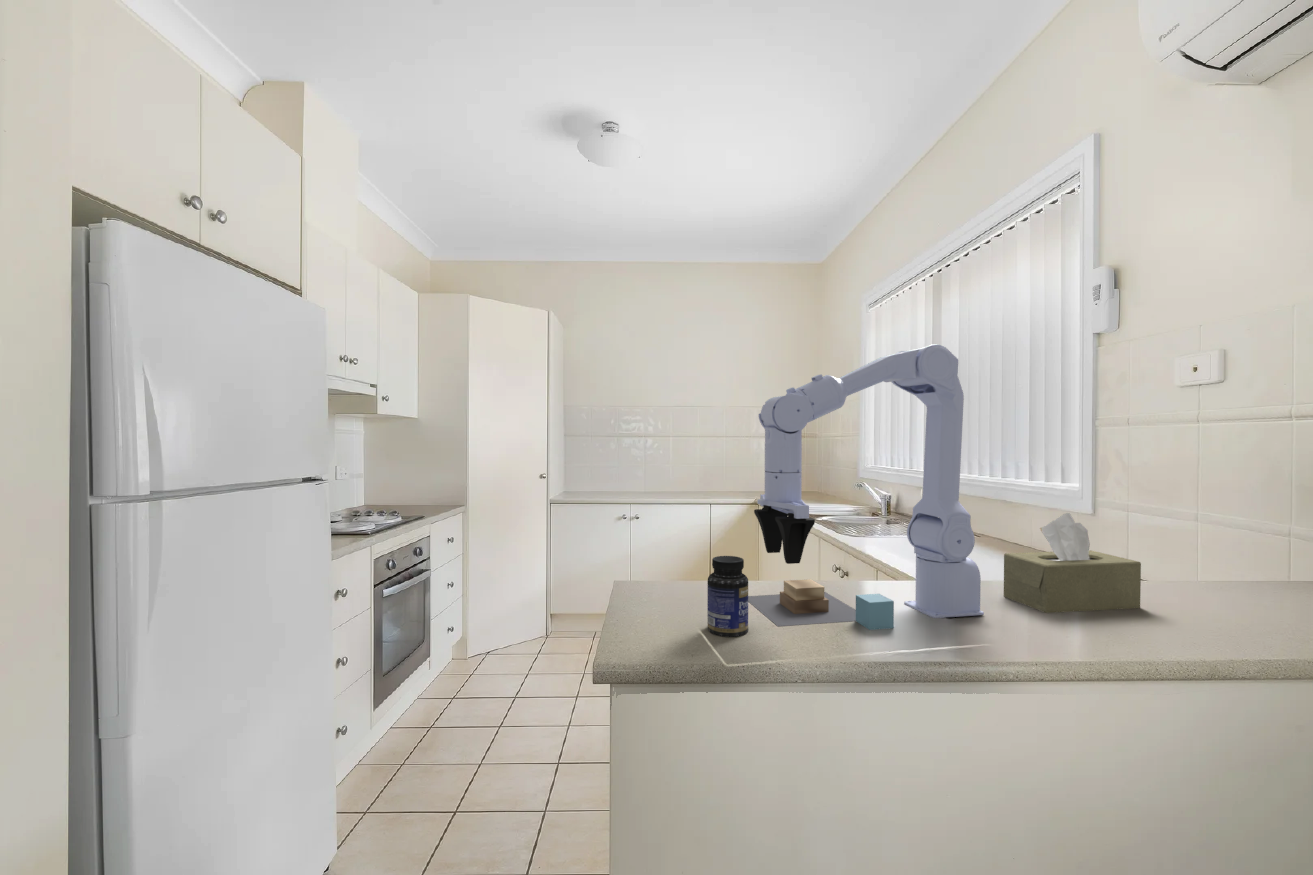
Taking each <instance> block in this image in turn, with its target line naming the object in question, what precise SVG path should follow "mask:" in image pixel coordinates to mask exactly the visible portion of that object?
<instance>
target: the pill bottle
mask: <svg viewBox="0 0 1313 875" xmlns="http://www.w3.org/2000/svg"><path fill="white" fill-rule="evenodd" d="M711 560H712V562H711V564H712V569H713V572H711V573H710V574H709V575H708V577H707V615H706V616H707V626H706V628H707V630H708V632H709V633H710V634H712V635H715V636H717V637H725V638H737V637H742V636H744V635H747V633H748V632H749V602H748V596H749V578H748V577H747V575H746V574H745V573H743V569H744V566H745V562H744V561H745V560H744V558H742V557H740V556H735V555H720V556H719V555H718V556H715V557H713V558H712V559H711Z"/></svg>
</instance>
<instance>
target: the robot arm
mask: <svg viewBox="0 0 1313 875" xmlns="http://www.w3.org/2000/svg"><path fill="white" fill-rule="evenodd" d="M883 382H884V383H892V385H894V386H895V387H897V388H899V389H901V390H903V391H905V392H907V393H909V394H911V395H914V396H915V397H916V398H918V400H920V401H921V403H922V404H924V405H925V406H926V413H925V414H926V415H925V416H926V419H925V436H924V438H925V439H924V440H925V441H924V456H923V457H924V459H923V477H922V479H923V480H922V497H921V499H920V500H919V501H918V502H917V503H916V504H915V505H914V506H913V508H912V516H911V518H910V521H909V523H908V524H907V527H906V528H907V529H906V536H907V540H908V542H909V544H910V545H911V546H912V547H914V548H913V549H914V550H913V553H914V554H915V600H908V601H907V600H905V601H904V602H903V603H904V605H905V606H907V607H909V608H911V609H914V610H915V611H918V612H920V613H922V614H924V615H926V616H928V617H930V618H934V619H940V618H941V619H942V618H955V617H956V618H958V617H972V616H983V615H984V614H985V613H984V611H983V610H981V572H980V568H979V566H978V564H977V563H976V561H974V559H972V558H971V557H968V556H970V554H972V552H973V550H974V547H975V541H976V540H975V538H976V537H975V533H974V531H973V528H972V524H971V520H972V519H971V514H970V513H969V511H968V510H967V509H966V508H965V507H964V506H963V504H961V502H960V500H959V499H960V482H961V462H962V460H961V458H962V441H963V440H962V439H963V421H964V420H963V419H964V417H963V416H964V400H965V398H964V397H965V396H964V391H963V387H962V385H961V384H962V383H961V381H960V379H959V358H957V356H956V355H955V354H953V353H952V351H950V350H949V349H948V348H947V347H946V346H945V345H941V344H936V343H935V344H930V345H927V346H924V347H921V348H920V347H919V348H916V349H909V350H901V351H897V352H896V353H893V354H890V355H889V354H888V355H884V356H882V357H879V358H876V359H875V360H872V361H870V362H868V363H866V364H864V365H863V366H860V367H859V368H856V369H854V370H852V371H851V372H848V373H846V374H845V375H843V376H840V377H835V376H833V375H830V374H825V375H824V376H823V374H817V375H813V376H812V377H811V381H810V382H807V383H805V384H804V385H801V386H798V387H797V388H795V387H794V386H793V387H788V388H787V389H786V390H785V392H786V394H785V395H781V396H780V395H779V396H775V397H774V396H773V397H770V398H769V399H767V400H766V401H765V402H764V404H763V405H762V408H761V410H760V413H758V420H759V422H760V425H761V426H762V427H763V429H764V493H763V494H760V496H759V497H760V499H757V502H756V503H757V505H760V507H762V508H758V509H755V508H754V510H753V514H754V515H755V517H756V519H757V522H758V523H759V526H760V529H761V533H762V537H763V543H764V546H765V551H766V552H767V554H777V553H778V554H779V553H781V550H782V549H783V550H782V551H783V558H784V561H785V564H788V565H789V564H790V565H793V564H800V563H801V560H802V557H803V552H804V548H805V545H806V541H807V538H808V536H809V534H810V532H811V530H812V528H813V527H814V526H815V522H816V519H815V518H813V517H810V505H809V504H806V502H805V501H804V500H803V499H802V498H803V497H802V496H803V495H802V486H803V485H802V480H803V479H802V478H803V476H802V470H803V469H802V466H803V463H802V462H803V461H802V457H803V455H802V454H803V453H802V450H803V448H802V446H803V444H802V443H803V442H802V436H803V435H802V433H803V432H802V431H803V430H804V429H805V428H806V427H807V425H808V423H811V422H813V421H815V420H817V419H820V418H821V417H824V416H826V415H828V414H830V413H833V412H835V411H837V410H839V409H841V408H842V407H843V406H844V405H845V402H846V400H847V397H848V396H851V395H854V394H856V393H858V392H860V391H863V390H865V389H868V388H871V387H873V386H875V385H877V384H880V383H883Z"/></svg>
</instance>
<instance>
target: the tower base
mask: <svg viewBox="0 0 1313 875" xmlns="http://www.w3.org/2000/svg"><path fill="white" fill-rule="evenodd" d="M779 594H780V604H782V605H783V606H784V607H786V608H787V609H788V610H790V611H791V612H792V613H794V614H802V613H818V612H829V600H828V599H827V598H825V597H824V599H817V600H800V601H796V600H794V599H793V598H791V597H790V596H788V595H787V594H786V593H784V590H783V591H779Z"/></svg>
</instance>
